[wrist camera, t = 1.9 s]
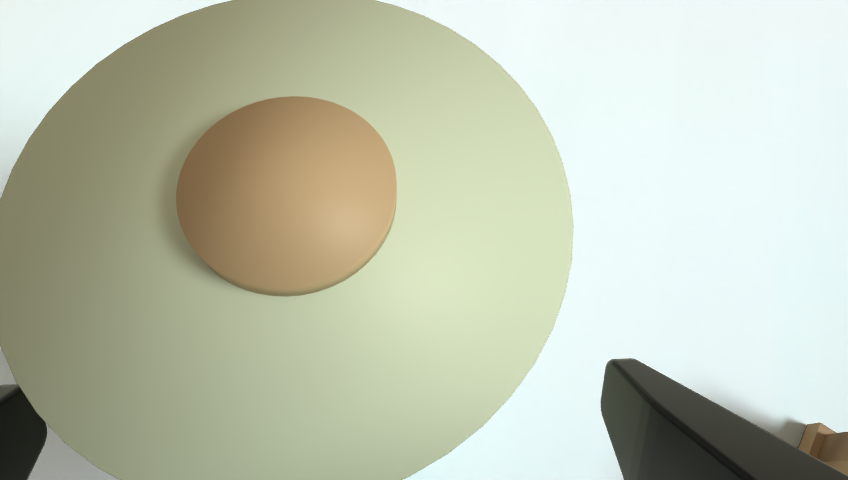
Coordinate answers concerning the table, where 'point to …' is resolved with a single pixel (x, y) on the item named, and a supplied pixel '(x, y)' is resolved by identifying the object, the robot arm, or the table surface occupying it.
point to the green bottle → (282, 246)
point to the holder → (826, 446)
